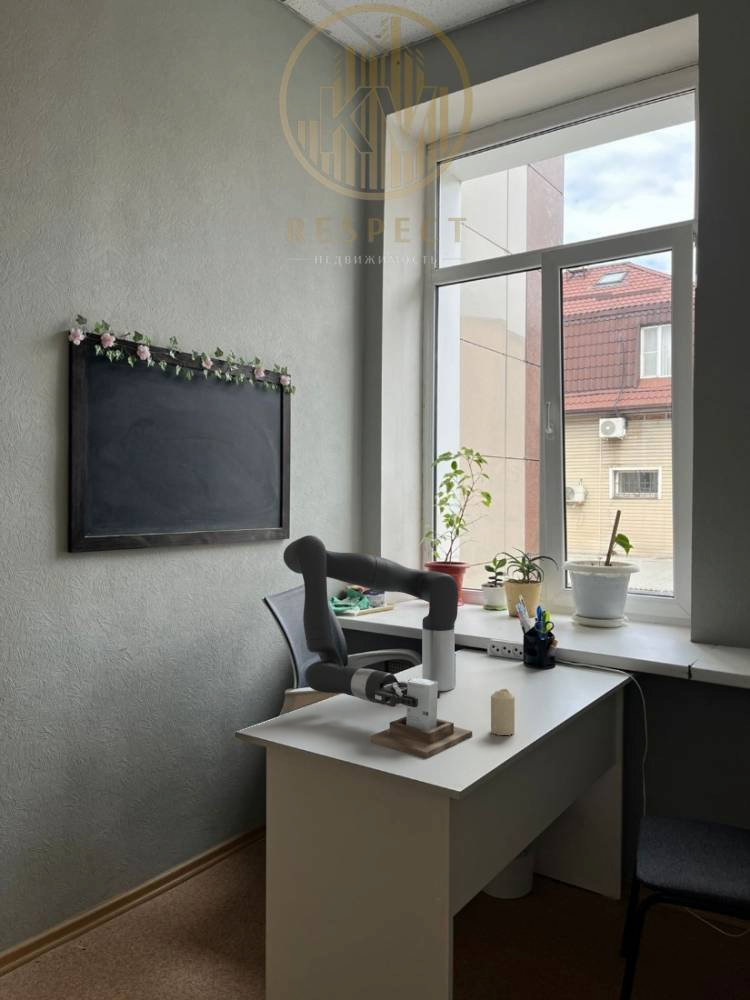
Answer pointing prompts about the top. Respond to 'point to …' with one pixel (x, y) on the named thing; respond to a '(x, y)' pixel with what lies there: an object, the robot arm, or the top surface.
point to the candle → (502, 712)
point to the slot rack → (420, 737)
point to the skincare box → (422, 704)
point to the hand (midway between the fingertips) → (428, 698)
